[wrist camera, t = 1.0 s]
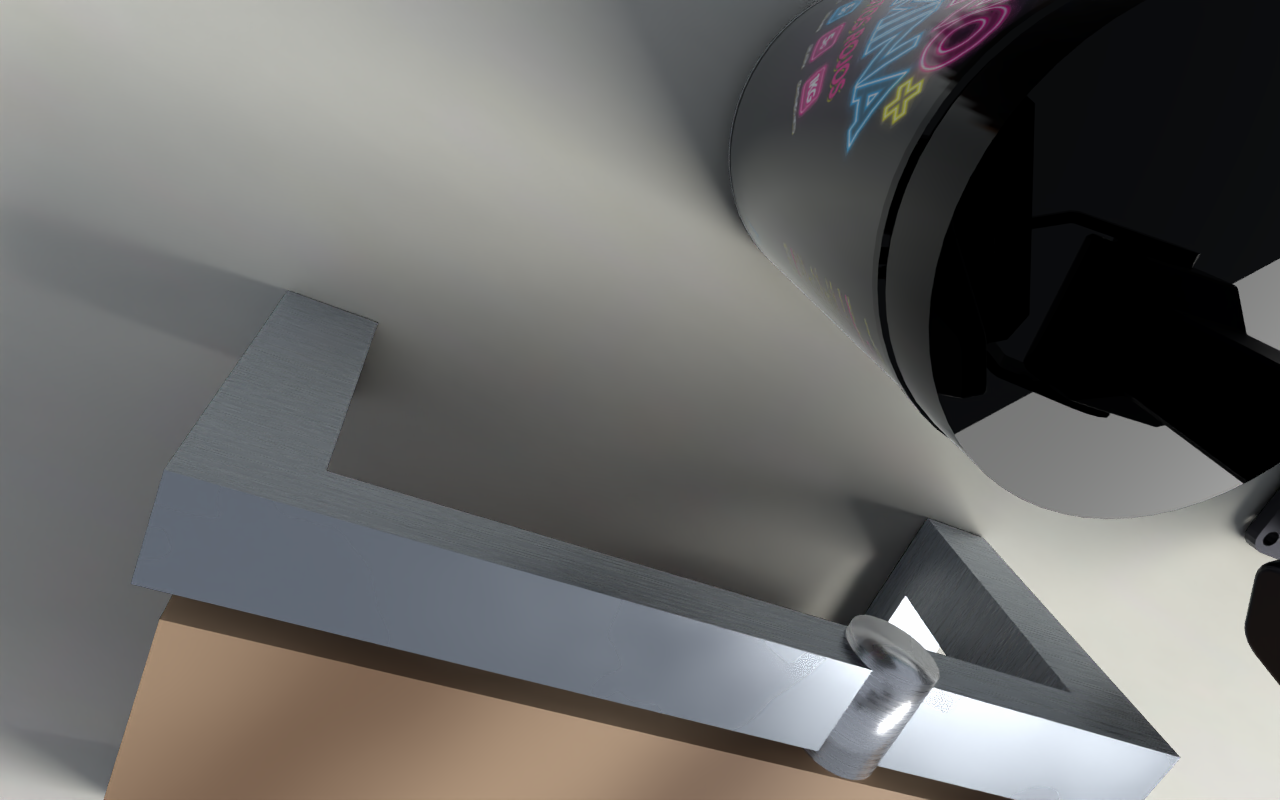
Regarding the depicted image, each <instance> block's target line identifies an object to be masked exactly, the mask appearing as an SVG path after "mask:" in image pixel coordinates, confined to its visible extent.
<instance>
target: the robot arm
mask: <svg viewBox="0 0 1280 800" xmlns="http://www.w3.org/2000/svg"><path fill="white" fill-rule="evenodd" d="M1245 540H1246V542H1247V543H1248V544H1249V545H1251V546H1252V547H1254V548H1255V549H1256V550H1258V551H1259V552H1261V553H1263V554H1266V555H1268V556H1271V557H1273V558H1276V559H1278V560H1275V561H1272V562H1268V563H1266V564H1264V565H1262V566H1261V567H1260V568H1259V569H1258V571H1257V573H1256V575H1255V579H1254V584H1253V588H1252V593H1251V597H1250V602H1249V607H1248V611H1247V616H1246V620H1245V635H1246V638H1247V641H1248V643H1249V645H1250V647H1251V649H1252V651H1253V652H1254V653H1255V655H1256V656H1257V657H1258V659H1259V660H1260V661H1261V662H1262V664H1263V665H1264V666H1265V667H1266V669H1267V670H1268V671H1269V672H1270V674H1271V675H1272V676H1273V677H1274V679H1275V680H1276V681H1277V683H1278V684H1279V685H1280V489H1279V490H1278V491H1277V492H1276V494H1275V495H1274V496H1273V497H1272V499H1271V500H1270V501H1269V502H1268V504H1267V505H1266V506H1265V507H1264V508H1263V510H1262V511H1261V512H1260V513H1259V515H1258V516H1257V517H1256V518H1255V520H1254V521H1253V522H1252V523H1251V525H1250V526H1249V527H1248V529H1247V531H1246V533H1245Z"/></svg>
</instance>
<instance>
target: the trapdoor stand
mask: <svg viewBox="0 0 1280 800" xmlns="http://www.w3.org/2000/svg"><path fill="white" fill-rule="evenodd" d="M377 324H378V322H375V321H372V320H370V319H367V318H364V317H361V316H358V315H355V314H353V313H350V312H347V311H344V310H341V309H339V308H336V307H333V306H330V305H327V304H325V303H322V302H319V301H316V300H313V299H310V298H308V297H305V296H302V295H299V294H296V293H294V292H291V291H287V292H286V294H285V295H284V296H283V298H282V299H281V301H280V302H279V304H278V305H277V307H276V308H275V309H274V311H273V312H272V314H271V315H270V317H269V318H268V320H267V321H266V323H265V324H264V325H263V327H262V328H261V330H260V331H259V333H258V334H257V336H256V337H255V338H254V340H253V341H252V343H251V344H250V346H249V347H248V349H247V350H246V352H245V353H244V354H243V356H242V357H241V359H240V360H239V362H238V363H237V365H236V366H235V367H234V369H233V370H232V372H231V373H230V375H229V376H228V378H227V379H226V381H225V382H224V383H223V385H222V386H221V388H220V389H219V391H218V392H217V394H216V395H215V396H214V398H213V399H212V401H211V402H210V404H209V405H208V407H207V408H206V410H205V411H204V412H203V414H202V415H201V417H200V418H199V420H198V421H197V423H196V424H195V425H194V427H193V428H192V430H191V431H190V433H189V434H188V436H187V437H186V439H185V440H184V441H183V443H182V444H181V446H180V447H179V449H178V450H177V452H176V453H175V454H174V456H173V457H172V459H171V460H170V462H169V463H168V465H167V466H166V468H165V469H164V471H163V475H162V478H161V482H160V485H159V489H158V492H157V496H156V499H155V502H154V506H153V509H152V513H151V516H150V520H149V523H148V527H147V530H146V533H145V537H144V540H143V544H142V547H141V551H140V554H139V557H138V561H137V564H136V568H135V571H134V575H133V578H132V582H131V584H133V585H137V586H141V587H145V588H149V589H153V590H157V591H161V592H165V593H170V594H174V595H178V596H182V597H186V598H190V599H194V600H198V601H202V602H207V603H211V604H215V605H219V606H223V607H227V608H231V609H235V610H239V611H243V612H248V613H252V614H256V615H260V616H264V617H268V618H272V619H276V620H280V621H285V622H289V623H293V624H297V625H301V626H305V627H309V628H313V629H317V630H321V631H326V632H330V633H334V634H338V635H342V636H346V637H350V638H354V639H358V640H362V641H367V642H371V643H375V644H379V645H383V646H387V647H391V648H395V649H399V650H404V651H408V652H412V653H416V654H420V655H424V656H428V657H432V658H436V659H440V660H445V661H449V662H453V663H457V664H461V665H465V666H469V667H473V668H477V669H482V670H486V671H490V672H494V673H498V674H502V675H506V676H510V677H514V678H518V679H523V680H527V681H531V682H535V683H539V684H543V685H547V686H551V687H555V688H560V689H564V690H568V691H572V692H576V693H580V694H584V695H588V696H592V697H596V698H601V699H605V700H609V701H613V702H617V703H621V704H625V705H629V706H633V707H638V708H642V709H646V710H650V711H654V712H658V713H662V714H666V715H670V716H674V717H679V718H683V719H687V720H691V721H695V722H699V723H703V724H707V725H711V726H715V727H720V728H724V729H728V730H732V731H736V732H740V733H744V734H748V735H752V736H757V737H761V738H765V739H769V740H773V741H777V742H781V743H785V744H789V745H793V746H798V747H802V749H803V750H804V751H805V752H806V753H807V754H808V755H809V756H810V757H811V758H812V759H813V760H814V761H815V762H817V763H818V764H819V765H820V766H822V767H823V768H825V769H826V770H828V771H830V772H831V773H833V774H835V775H837V776H840V777H843V778H846V779H850V780H864V779H866V778H868V777H869V776H870V775H871V774H872V773H873V771H874V770H875V768H876V767H877V766H880V767H884V768H888V769H892V770H896V771H900V772H904V773H908V774H913V775H917V776H921V777H925V778H929V779H933V780H937V781H941V782H945V783H949V784H954V785H958V786H962V787H966V788H970V789H974V790H978V791H982V792H986V793H990V794H995V795H999V796H1003V797H1007V798H1011V799H1015V800H1144V799H1145V798H1146V797H1147V796H1148V795H1149V793H1150V792H1151V791H1152V790H1153V789H1154V788H1155V787H1156V785H1157V784H1158V783H1159V782H1160V781H1161V780H1162V778H1163V777H1164V776H1165V775H1166V774H1167V773H1168V771H1169V770H1170V769H1171V768H1172V767H1173V766H1174V765H1175V763H1176V762H1177V761H1178V760H1179V759H1180V757H1179V755H1178V754H1177V753H1176V752H1175V751H1174V750H1173V749H1172V748H1171V747H1170V745H1169V744H1168V743H1167V742H1166V741H1165V740H1164V739H1163V738H1162V737H1161V735H1160V734H1159V733H1158V732H1157V731H1156V730H1155V729H1154V728H1153V726H1152V725H1151V724H1150V723H1149V722H1148V721H1147V720H1146V719H1145V718H1144V716H1143V715H1142V714H1141V713H1140V712H1139V711H1138V710H1137V709H1136V708H1135V706H1134V705H1133V704H1132V703H1131V702H1130V701H1129V700H1128V699H1127V697H1126V696H1125V695H1124V694H1123V693H1122V692H1121V691H1120V690H1119V689H1118V687H1117V686H1116V685H1115V684H1114V683H1113V682H1112V681H1111V680H1110V679H1109V677H1108V676H1107V675H1106V674H1105V673H1104V672H1103V671H1102V670H1101V668H1100V667H1099V666H1098V665H1097V664H1096V663H1095V662H1094V661H1093V660H1092V658H1091V657H1090V656H1089V655H1088V654H1087V653H1086V652H1085V651H1084V649H1083V648H1082V647H1081V646H1080V645H1079V644H1078V643H1077V642H1076V641H1075V639H1074V638H1073V637H1072V636H1071V635H1070V634H1069V633H1068V632H1067V631H1066V629H1065V628H1064V627H1063V626H1062V625H1061V624H1060V623H1059V622H1058V620H1057V619H1056V618H1055V617H1054V616H1053V615H1052V614H1051V613H1050V612H1049V610H1048V609H1047V608H1046V607H1045V606H1044V605H1043V604H1042V603H1041V602H1040V600H1039V599H1038V598H1037V597H1036V596H1035V595H1034V594H1033V593H1032V591H1031V590H1030V589H1029V588H1028V587H1027V586H1026V585H1025V584H1024V583H1023V581H1022V580H1021V579H1020V578H1019V577H1018V576H1017V575H1016V574H1015V573H1014V571H1013V570H1012V569H1011V568H1010V567H1009V566H1008V565H1007V564H1006V562H1005V561H1004V560H1003V559H1002V558H1001V557H1000V556H999V555H998V554H997V552H996V551H995V550H994V549H993V548H992V547H991V546H990V545H989V544H988V542H987V541H986V540H985V539H984V538H982V537H980V536H977V535H974V534H971V533H968V532H966V531H963V530H960V529H957V528H954V527H952V526H949V525H946V524H943V523H940V522H937V521H935V520H932V519H929V518H927V519H926V521H925V523H924V524H923V526H922V527H921V529H920V530H919V532H918V533H917V535H916V536H915V538H914V539H913V541H912V543H911V544H910V546H909V547H908V549H907V550H906V552H905V553H904V555H903V556H902V558H901V559H900V561H899V563H898V564H897V566H896V567H895V569H894V570H893V572H892V573H891V575H890V576H889V578H888V579H887V581H886V582H885V584H884V586H883V587H882V589H881V590H880V592H879V593H878V595H877V596H876V598H875V599H874V601H873V602H872V604H871V606H870V607H869V609H868V610H867V612H866V613H865V615H858V616H855V617H854V618H853V619H852V621H851V622H850V624H849V625H848V626H845V625H842V624H838V623H835V622H832V621H828V620H825V619H822V618H818V617H815V616H811V615H808V614H805V613H801V612H798V611H795V610H791V609H788V608H785V607H781V606H778V605H775V604H771V603H768V602H765V601H761V600H758V599H755V598H751V597H748V596H745V595H741V594H738V593H735V592H731V591H728V590H724V589H721V588H718V587H714V586H711V585H708V584H704V583H701V582H698V581H694V580H691V579H688V578H684V577H681V576H678V575H674V574H671V573H668V572H664V571H661V570H658V569H654V568H651V567H647V566H644V565H641V564H637V563H634V562H631V561H627V560H624V559H621V558H617V557H614V556H611V555H607V554H604V553H601V552H597V551H594V550H591V549H587V548H584V547H581V546H577V545H574V544H570V543H567V542H564V541H560V540H557V539H554V538H550V537H547V536H544V535H540V534H537V533H534V532H530V531H527V530H524V529H520V528H517V527H514V526H510V525H507V524H504V523H500V522H497V521H493V520H490V519H487V518H483V517H480V516H477V515H473V514H470V513H467V512H463V511H460V510H457V509H453V508H450V507H447V506H443V505H440V504H437V503H433V502H430V501H427V500H423V499H420V498H417V497H413V496H410V495H406V494H403V493H400V492H396V491H393V490H390V489H386V488H383V487H380V486H376V485H373V484H370V483H366V482H363V481H360V480H356V479H353V478H350V477H346V476H343V475H340V474H336V473H333V472H329V471H326V470H327V467H328V464H329V462H330V459H331V456H332V453H333V450H334V447H335V444H336V442H337V439H338V436H339V433H340V430H341V427H342V424H343V422H344V419H345V416H346V413H347V410H348V407H349V404H350V402H351V399H352V396H353V393H354V390H355V387H356V384H357V381H358V379H359V376H360V373H361V370H362V367H363V364H364V361H365V359H366V356H367V353H368V350H369V347H370V344H371V341H372V339H373V336H374V333H375V330H376V327H377ZM939 647H941V649H942V650H943V652H944V653H945V654H946V656H945V655H942V654H939V653H936V652H937V650H938V649H939Z"/></svg>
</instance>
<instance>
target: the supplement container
mask: <svg viewBox="0 0 1280 800" xmlns="http://www.w3.org/2000/svg"><path fill="white" fill-rule="evenodd" d="M728 161H729V177H730V184H731V190H732V194H733V198H734V202H735V205H736V208H737V211H738V214H739V216H740V218H741V220H742V223H743V225H744V227H745V229H746V231H747V232H748V234H749V235H750V237H751V239H752V240H753V242H754V243H755V244H756V246H757V247H758V248H759V249H760V251H761V252H762V253H763V254H764V255H765V256H766V257H767V258H768V259H769V260H770V261H771V262H772V263H773V264H774V265H775V266H776V267H777V268H778V269H779V270H780V271H781V272H782V273H783V274H784V275H785V276H786V277H787V278H788V279H789V280H790V281H791V282H792V283H793V284H794V285H795V286H797V287H798V288H799V289H800V290H801V291H802V292H803V293H804V294H805V295H806V296H807V297H808V298H809V299H810V300H811V301H812V302H813V303H814V304H815V305H816V306H817V307H818V308H819V309H820V310H821V311H822V312H823V313H824V314H825V315H826V316H827V317H828V318H829V319H830V320H831V321H832V322H833V323H835V324H836V325H837V326H838V327H839V328H840V329H841V330H842V331H843V332H844V333H845V334H846V335H847V336H848V337H849V338H850V339H851V340H852V341H853V342H854V343H855V344H856V345H857V346H858V347H859V348H860V349H861V350H862V351H863V352H864V353H865V354H866V355H867V356H868V357H869V358H870V359H872V360H873V361H874V362H875V363H876V364H877V365H878V366H879V367H880V368H881V369H882V370H883V371H884V372H885V373H886V374H887V375H888V376H889V377H890V378H891V379H892V380H893V381H894V382H895V383H896V384H897V385H898V386H899V387H900V388H901V389H902V391H903V393H904V394H905V395H906V396H907V398H908V399H909V400H910V402H911V403H912V404H913V406H914V407H915V408H916V409H917V410H918V411H919V412H920V413H921V414H922V415H923V416H924V417H925V418H926V419H927V420H928V421H929V422H930V423H931V424H932V425H933V426H934V427H935V428H936V429H937V430H939V431H940V432H941V433H943V434H944V435H945V436H946V437H948V438H949V439H950V440H951V441H952V442H953V443H954V444H955V445H956V446H957V447H958V448H960V449H961V450H962V451H963V452H964V453H965V454H966V455H967V456H968V457H969V458H970V459H971V460H972V461H973V462H974V463H975V464H976V465H977V466H978V467H979V468H980V469H981V470H982V471H983V472H984V473H985V474H986V475H987V476H988V477H990V478H991V479H992V480H993V481H995V482H996V483H997V484H999V485H1000V486H1001V487H1002V488H1004V489H1005V490H1007V491H1009V492H1010V493H1012V494H1014V495H1016V496H1017V497H1019V498H1021V499H1023V500H1025V501H1027V502H1030V503H1032V504H1034V505H1037V506H1039V507H1041V508H1045V509H1048V510H1051V511H1055V512H1058V513H1062V514H1067V515H1073V516H1079V517H1086V518H1102V519H1115V518H1133V517H1141V516H1148V515H1155V514H1160V513H1164V512H1169V511H1173V510H1177V509H1181V508H1184V507H1187V506H1190V505H1194V504H1197V503H1200V502H1203V501H1205V500H1208V499H1210V498H1213V497H1215V496H1218V495H1220V494H1223V493H1225V492H1228V491H1230V490H1232V489H1234V488H1236V487H1238V486H1240V485H1242V484H1244V483H1246V482H1248V481H1250V480H1252V479H1253V478H1255V477H1257V476H1259V475H1260V474H1262V473H1264V472H1266V471H1267V470H1269V469H1271V468H1272V467H1274V466H1275V465H1277V464H1278V463H1280V0H819V1H818V2H816V3H814V4H813V5H811V6H810V7H808V8H807V9H805V10H804V11H803V12H802V13H800V14H799V15H798V16H796V17H795V18H794V19H793V20H792V21H791V22H790V23H788V24H787V25H786V26H785V27H784V28H783V29H782V30H781V31H780V32H779V33H778V35H777V36H776V37H775V38H774V39H773V40H772V41H771V42H770V44H769V45H768V46H767V48H766V49H765V51H764V52H763V53H762V55H761V56H760V57H759V59H758V61H757V62H756V64H755V66H754V67H753V69H752V71H751V72H750V74H749V76H748V79H747V81H746V83H745V85H744V87H743V89H742V92H741V95H740V97H739V100H738V103H737V106H736V109H735V113H734V117H733V121H732V126H731V132H730V138H729V152H728Z"/></svg>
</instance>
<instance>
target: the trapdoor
mask: <svg viewBox="0 0 1280 800" xmlns="http://www.w3.org/2000/svg"><path fill="white" fill-rule="evenodd" d="M104 800H1015V799H1011V798H1007V797H1003V796H999V795H995V794H990V793H986V792H982V791H978V790H974V789H970V788H966V787H962V786H958V785H954V784H949V783H945V782H941V781H937V780H933V779H929V778H925V777H921V776H917V775H913V774H908V773H904V772H900V771H896V770H892V769H888V768H884V767H880V766H877V767H876V768H875V770H874V771H873V773H872V774H871V775H870V776H869V777H868V778H866V779H864V780H850V779H846V778H843V777H840V776H837V775H835V774H833V773H831V772H830V771H828V770H826V769H825V768H823V767H822V766H820V765H819V764H818V763H817V762H815V761H814V760H813V759H812V758H811V757H810V756H809V755H808V754H807V753H806V752H805V751H804V750H803V749H802V747H798V746H793V745H789V744H785V743H781V742H777V741H773V740H769V739H765V738H761V737H757V736H752V735H748V734H744V733H740V732H736V731H732V730H728V729H724V728H720V727H715V726H711V725H707V724H703V723H699V722H695V721H691V720H687V719H683V718H679V717H674V716H670V715H666V714H662V713H658V712H654V711H650V710H646V709H642V708H638V707H633V706H629V705H625V704H621V703H617V702H613V701H609V700H605V699H601V698H596V697H592V696H588V695H584V694H580V693H576V692H572V691H568V690H564V689H560V688H555V687H551V686H547V685H543V684H539V683H535V682H531V681H527V680H523V679H518V678H514V677H510V676H506V675H502V674H498V673H494V672H490V671H486V670H482V669H477V668H473V667H469V666H465V665H461V664H457V663H453V662H449V661H445V660H440V659H436V658H432V657H428V656H424V655H420V654H416V653H412V652H408V651H404V650H399V649H395V648H391V647H387V646H383V645H379V644H375V643H371V642H367V641H362V640H358V639H354V638H350V637H346V636H342V635H338V634H334V633H330V632H326V631H321V630H317V629H313V628H309V627H305V626H301V625H297V624H293V623H289V622H285V621H280V620H276V619H272V618H268V617H264V616H260V615H256V614H252V613H248V612H243V611H239V610H235V609H231V608H227V607H223V606H219V605H215V604H211V603H207V602H202V601H198V600H194V599H190V598H186V597H182V596H178V595H174V594H173V595H172V597H171V599H170V600H169V602H168V604H167V606H166V608H165V610H164V612H163V614H162V615H161V617H160V619H159V622H158V626H157V629H156V632H155V635H154V639H153V642H152V645H151V648H150V651H149V655H148V658H147V661H146V664H145V668H144V671H143V674H142V677H141V681H140V684H139V687H138V690H137V693H136V697H135V700H134V703H133V706H132V710H131V713H130V716H129V719H128V722H127V726H126V729H125V732H124V735H123V739H122V742H121V745H120V748H119V752H118V755H117V758H116V761H115V764H114V768H113V771H112V774H111V777H110V781H109V784H108V787H107V790H106V794H105V797H104Z"/></svg>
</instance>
